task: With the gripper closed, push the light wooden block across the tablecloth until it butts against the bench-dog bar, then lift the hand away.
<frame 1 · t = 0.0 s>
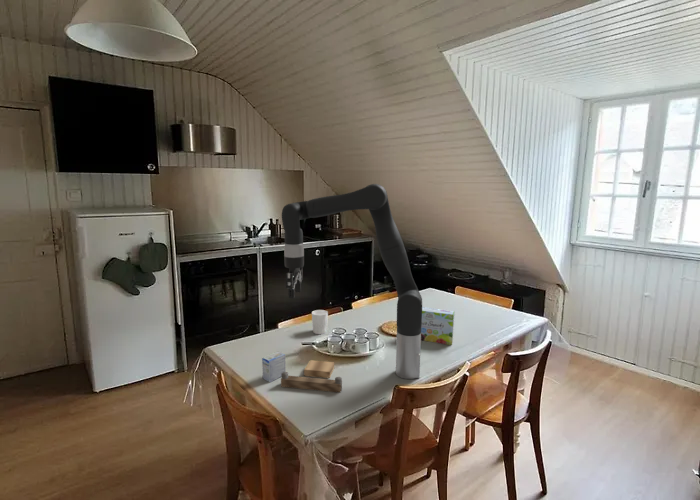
hand: (295, 294, 160), 29 cm above the table, fingers open, 8 cm apart
snack box: (429, 340, 190), on the table
light wooden block: (319, 372, 159), on the table
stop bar: (311, 387, 147), on the table
white cup: (319, 332, 199), on the table
medicine box: (274, 377, 155), on the table
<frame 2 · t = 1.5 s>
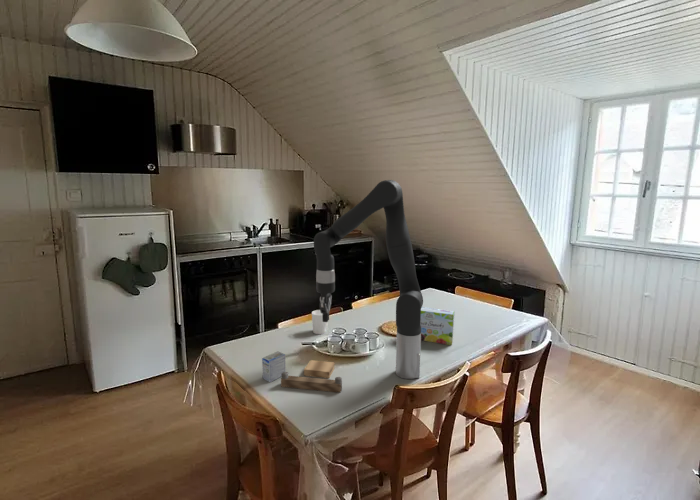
hand: (325, 320, 166), 17 cm above the table, fingers closed
nothing on the table moved.
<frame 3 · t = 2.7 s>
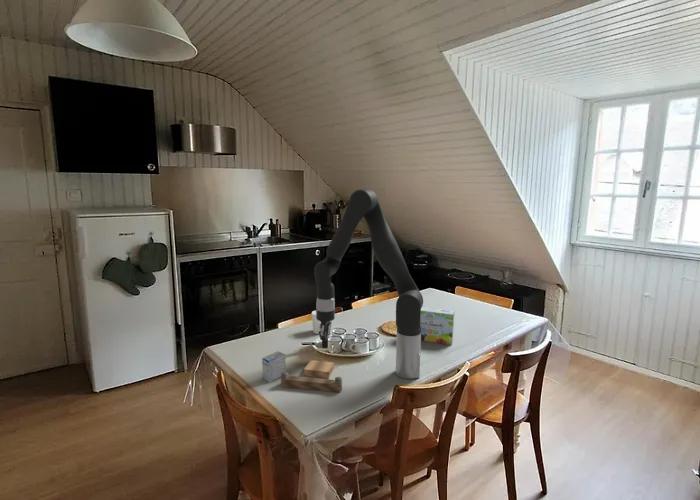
hand: (325, 347, 168), 5 cm above the table, fingers closed
nothing on the table moved.
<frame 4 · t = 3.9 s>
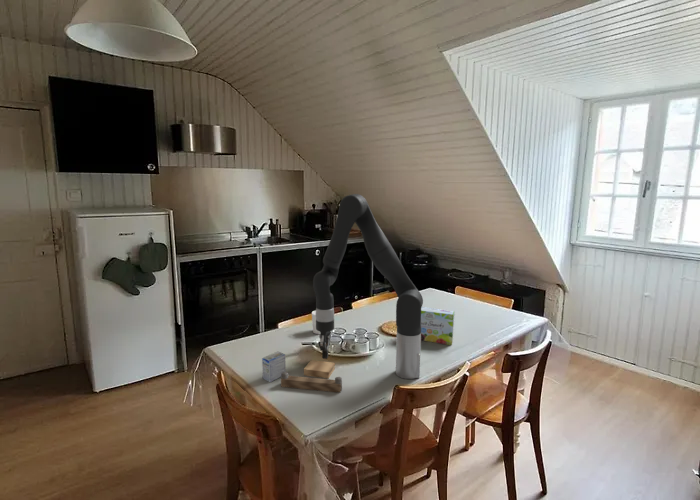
hand: (325, 357, 167), 1 cm above the table, fingers closed
nothing on the table moved.
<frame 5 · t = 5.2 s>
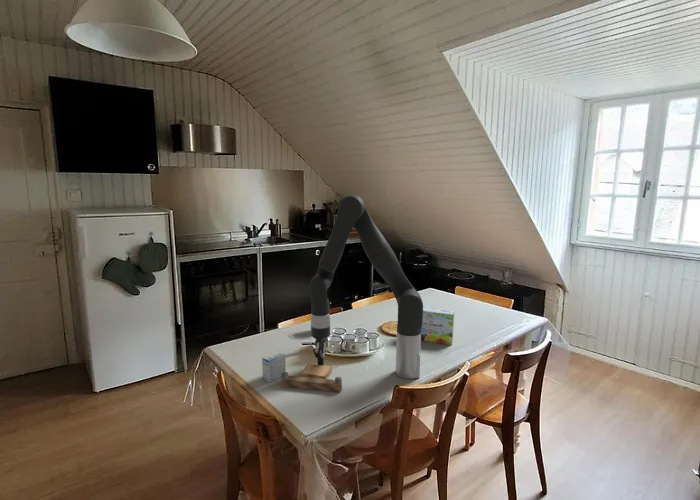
hand: (320, 365, 161), 2 cm above the table, fingers closed
light wooden block: (316, 376, 156), on the table, touching gripper
everything else where it was.
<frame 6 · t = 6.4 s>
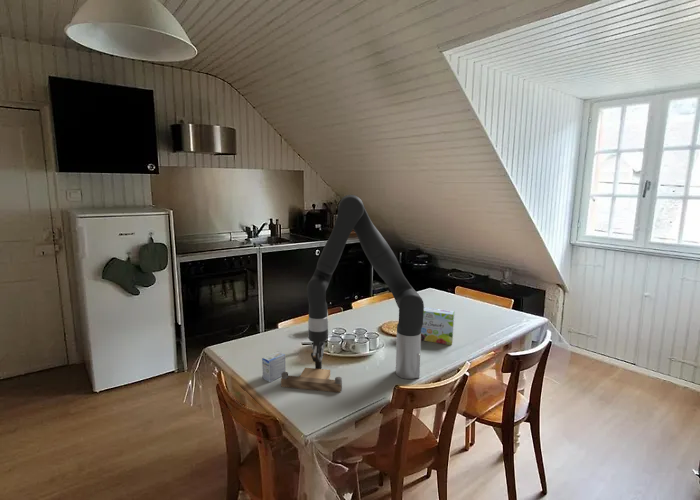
hand: (318, 369, 157), 2 cm above the table, fingers closed
light wooden block: (315, 381, 152), on the table, touching gripper, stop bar
everything else where it was.
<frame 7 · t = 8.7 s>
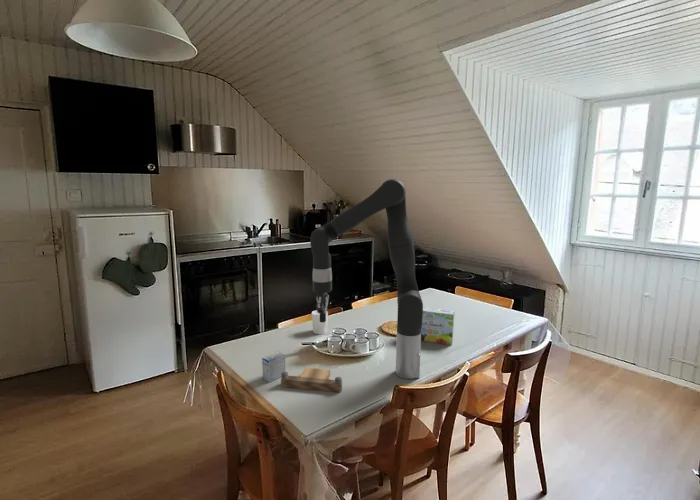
hand: (322, 321, 159), 19 cm above the table, fingers closed
light wooden block: (315, 381, 152), on the table
everything else where it was.
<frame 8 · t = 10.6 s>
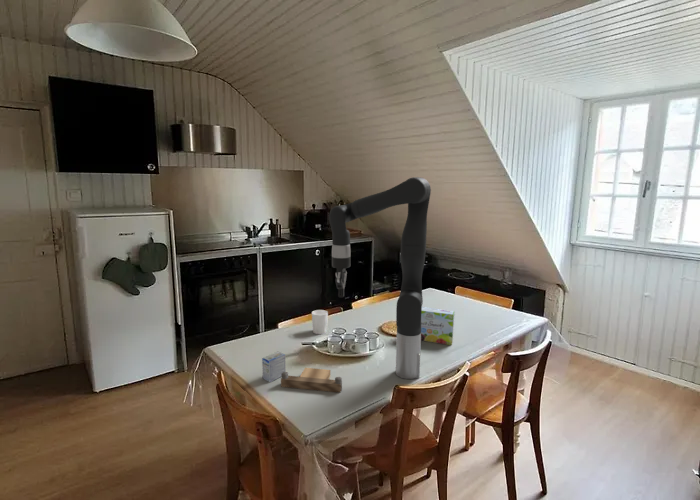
hand: (341, 296, 165), 27 cm above the table, fingers closed
nothing on the table moved.
at the end: light wooden block 0.5 cm from the target spot on the table beside the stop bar, on the table; light wooden block tilted 0°; light wooden block moved 6.5 cm from its start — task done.
